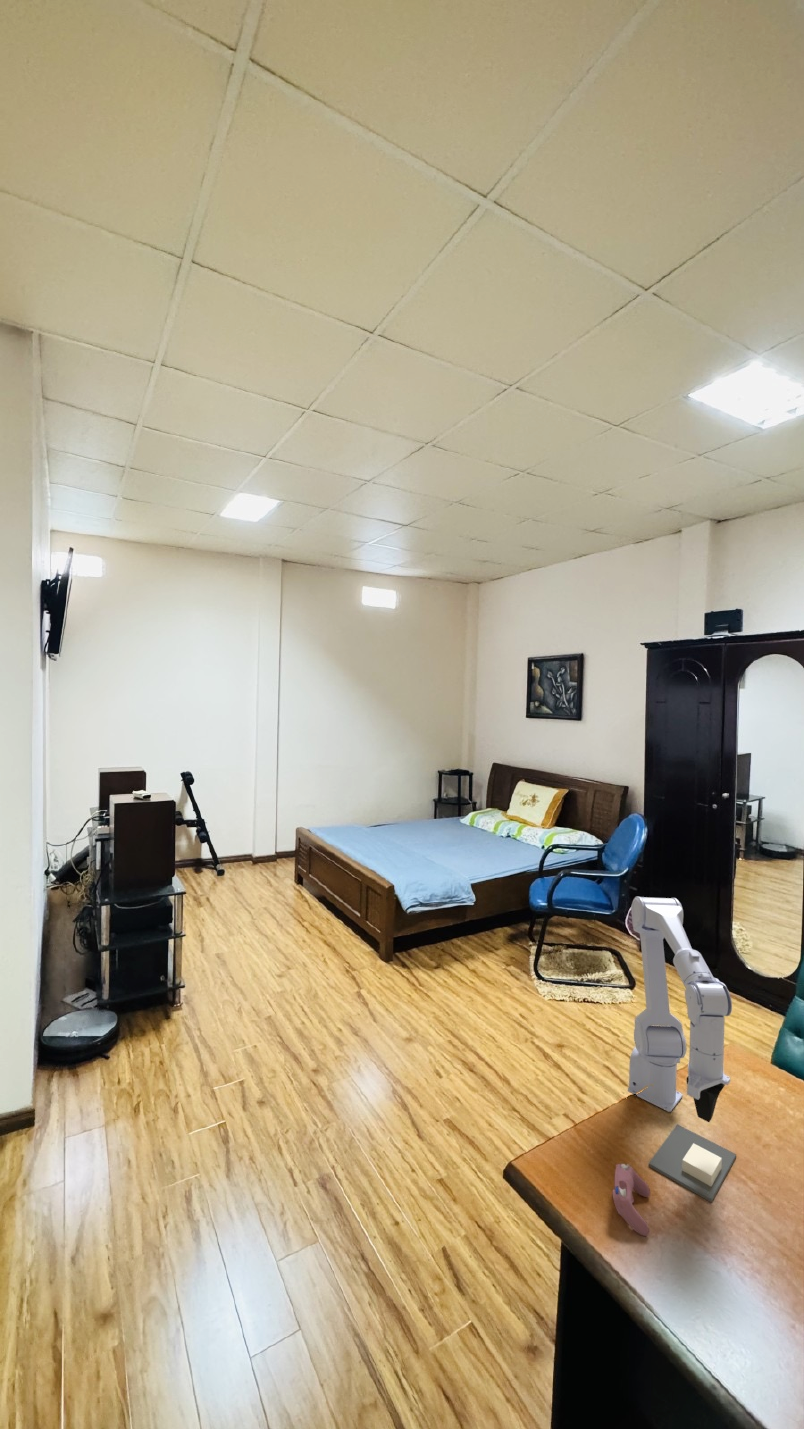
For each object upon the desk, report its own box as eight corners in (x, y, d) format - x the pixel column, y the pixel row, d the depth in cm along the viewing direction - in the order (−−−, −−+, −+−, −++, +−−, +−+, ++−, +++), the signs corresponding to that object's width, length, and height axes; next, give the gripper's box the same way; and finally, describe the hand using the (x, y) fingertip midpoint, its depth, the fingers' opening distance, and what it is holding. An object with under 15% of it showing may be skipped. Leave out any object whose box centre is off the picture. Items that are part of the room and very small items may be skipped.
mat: (648, 1166, 107) (648, 1162, 107) (677, 1126, 117) (677, 1123, 117) (711, 1202, 99) (711, 1199, 99) (736, 1157, 110) (736, 1154, 110)
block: (693, 1153, 110) (682, 1170, 105) (693, 1143, 110) (682, 1159, 105) (721, 1168, 106) (711, 1186, 102) (721, 1157, 106) (711, 1175, 102)
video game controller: (627, 1195, 102) (610, 1155, 103) (652, 1192, 100) (634, 1151, 102) (624, 1241, 93) (605, 1196, 94) (651, 1239, 91) (631, 1193, 93)
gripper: (717, 1073, 99) (715, 1149, 99) (741, 1040, 109) (739, 1110, 109) (675, 1054, 104) (673, 1128, 104) (701, 1025, 114) (700, 1092, 114)
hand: (704, 1117), depth 107 cm, fingers closed
